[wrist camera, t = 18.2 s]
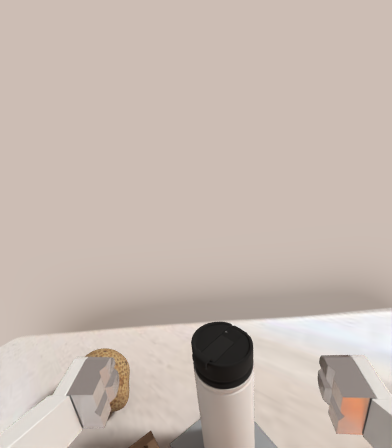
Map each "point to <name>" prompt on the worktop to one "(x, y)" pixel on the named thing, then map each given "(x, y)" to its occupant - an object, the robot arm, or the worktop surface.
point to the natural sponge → (123, 372)
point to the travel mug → (224, 385)
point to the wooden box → (146, 442)
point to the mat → (193, 442)
